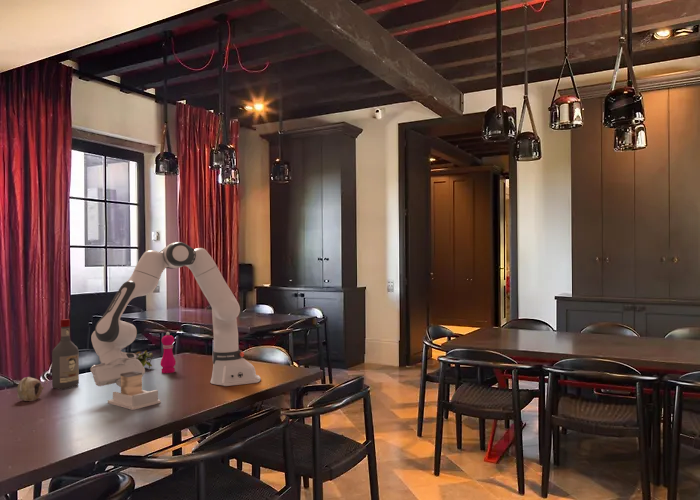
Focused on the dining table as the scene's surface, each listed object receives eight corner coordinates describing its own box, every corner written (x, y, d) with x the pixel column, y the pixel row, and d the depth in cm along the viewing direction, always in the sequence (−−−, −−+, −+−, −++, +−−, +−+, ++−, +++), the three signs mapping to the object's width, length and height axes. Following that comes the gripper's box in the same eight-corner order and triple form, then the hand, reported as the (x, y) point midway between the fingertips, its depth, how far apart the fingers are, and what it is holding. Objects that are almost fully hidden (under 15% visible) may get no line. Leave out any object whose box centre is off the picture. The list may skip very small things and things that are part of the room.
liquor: (49, 387, 241) (49, 320, 241) (68, 383, 249) (68, 318, 249) (62, 390, 237) (62, 321, 237) (81, 385, 245) (81, 318, 245)
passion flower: (138, 379, 280) (142, 357, 287) (156, 376, 278) (160, 354, 285) (124, 370, 272) (129, 348, 279) (143, 367, 269) (148, 345, 276)
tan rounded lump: (21, 408, 217) (12, 387, 214) (20, 400, 224) (11, 379, 221) (46, 398, 221) (38, 376, 218) (45, 390, 228) (37, 369, 225)
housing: (107, 402, 214) (107, 390, 214) (135, 396, 224) (135, 384, 224) (132, 409, 204) (132, 396, 204) (160, 402, 214) (160, 389, 214)
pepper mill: (171, 373, 267) (170, 333, 267) (157, 373, 268) (157, 332, 268) (178, 370, 274) (178, 331, 274) (165, 370, 275) (165, 330, 275)
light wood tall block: (120, 399, 214) (120, 373, 214) (134, 396, 219) (134, 370, 219) (128, 401, 211) (127, 375, 211) (142, 398, 216) (142, 372, 216)
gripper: (91, 361, 213) (105, 389, 207) (138, 353, 230) (152, 379, 224) (86, 371, 216) (99, 399, 210) (133, 362, 232) (146, 388, 226)
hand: (127, 388), depth 217 cm, fingers closed, pressing on light wood tall block
